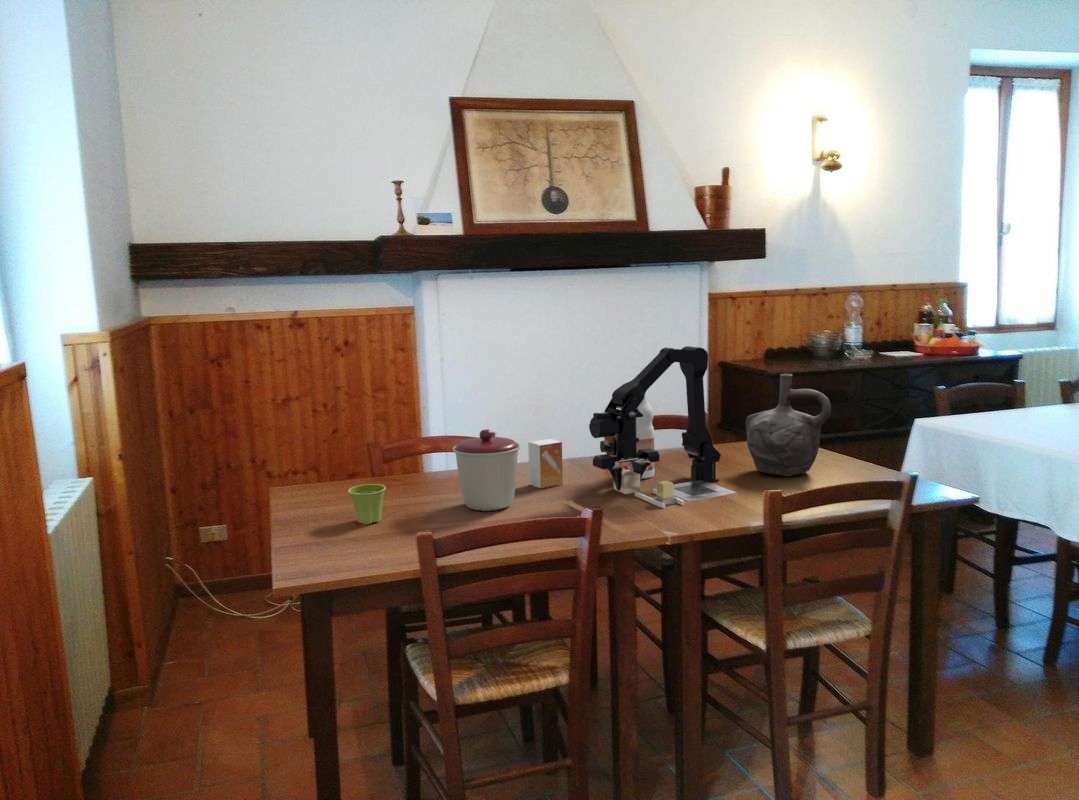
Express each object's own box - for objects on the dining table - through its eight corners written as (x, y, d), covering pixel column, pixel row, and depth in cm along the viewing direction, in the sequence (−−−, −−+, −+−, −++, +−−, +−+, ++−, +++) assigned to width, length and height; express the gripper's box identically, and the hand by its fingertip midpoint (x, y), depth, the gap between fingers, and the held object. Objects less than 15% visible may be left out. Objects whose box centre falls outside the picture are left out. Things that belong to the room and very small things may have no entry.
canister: (517, 494, 233) (514, 421, 230) (527, 512, 215) (524, 433, 212) (453, 499, 230) (449, 425, 227) (458, 518, 212) (454, 438, 209)
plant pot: (380, 527, 207) (377, 493, 205) (344, 526, 208) (342, 493, 207) (392, 516, 216) (391, 484, 214) (358, 515, 217) (356, 483, 216)
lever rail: (654, 496, 227) (654, 488, 227) (684, 508, 215) (684, 500, 214) (634, 499, 225) (634, 491, 224) (663, 512, 212) (663, 504, 212)
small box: (540, 489, 238) (539, 445, 236) (528, 484, 244) (527, 441, 241) (563, 484, 243) (562, 441, 241) (551, 480, 248) (550, 438, 246)
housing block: (629, 490, 234) (628, 469, 233) (640, 495, 229) (640, 474, 228) (613, 492, 232) (613, 472, 231) (624, 497, 227) (624, 476, 226)
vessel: (828, 466, 255) (830, 370, 250) (829, 484, 234) (832, 379, 230) (747, 463, 262) (748, 369, 258) (742, 480, 242) (743, 378, 237)
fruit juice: (637, 481, 244) (636, 387, 240) (617, 475, 252) (615, 384, 248) (661, 475, 250) (660, 384, 245) (640, 470, 257) (639, 381, 253)
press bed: (701, 483, 239) (701, 479, 239) (736, 496, 224) (737, 492, 224) (654, 491, 232) (654, 487, 232) (688, 505, 218) (688, 500, 218)
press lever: (667, 499, 220) (667, 479, 219) (676, 503, 216) (676, 483, 215) (653, 502, 218) (653, 481, 217) (662, 505, 214) (662, 485, 213)
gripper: (639, 425, 239) (639, 478, 241) (582, 432, 231) (583, 486, 234) (660, 432, 229) (661, 486, 231) (602, 439, 221) (603, 495, 224)
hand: (626, 488), depth 230 cm, fingers closed on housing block, 5 cm apart
